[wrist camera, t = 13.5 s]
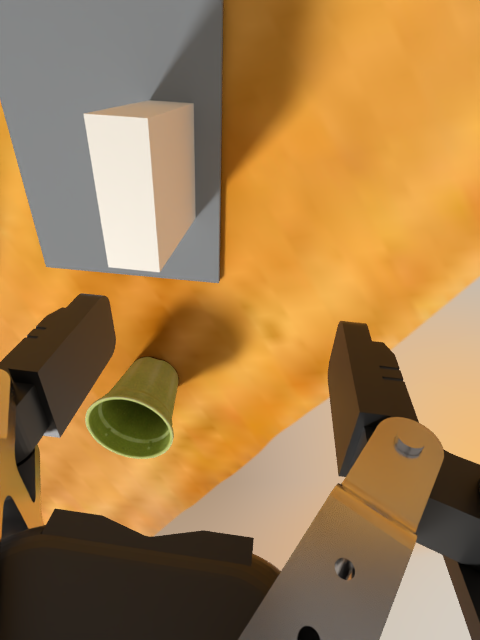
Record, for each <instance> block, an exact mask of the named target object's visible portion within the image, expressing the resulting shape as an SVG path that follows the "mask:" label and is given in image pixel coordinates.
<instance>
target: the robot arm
mask: <svg viewBox="0 0 480 640" xmlns="http://www.w3.org/2000/svg"><path fill="white" fill-rule="evenodd" d="M115 343H116V337H115V331H114V325H113V319H112V313H111V308H110V302H109V299H108V298H107V297H106V296H101V295H92V294H79V295H78V296H77V297H76V298H75V299H74V300H73V301H72V302H71V303H70V304H69V305H68V306H67V307H66V308H63V307H62V308H60V309H59V310H57V311H55V312H53V313H51V314H49V315H48V316H46V317H45V318H44V319H43V320H42V321H41V322H40V323H39V324H38V325H37V326H36V329H33V330H32V331H31V332H30V333H29V334H28V335H27V338H24V339H23V340H22V341H21V342H20V343H19V344H18V345H17V346H16V347H15V348H14V349H13V350H12V351H11V352H10V353H9V354H8V355H7V356H6V357H5V358H4V359H3V360H2V361H1V362H0V640H379V639H380V636H381V634H382V631H383V628H384V626H385V623H386V620H387V618H388V615H389V612H390V610H391V607H392V604H393V602H394V599H395V596H396V594H397V591H398V588H399V586H400V583H401V580H402V578H403V575H404V573H405V570H406V567H407V564H408V562H409V559H410V557H411V554H412V551H413V549H414V546H415V543H416V542H417V543H419V544H421V545H423V546H425V547H427V548H429V549H432V550H434V551H436V552H438V553H440V554H442V555H443V557H444V560H445V563H446V566H447V569H448V572H449V575H450V578H451V580H452V583H453V586H454V589H455V592H456V595H457V598H458V601H459V604H460V606H461V610H462V612H463V615H464V618H465V621H466V624H467V627H468V630H469V633H470V636H471V639H472V640H480V465H479V464H476V463H474V462H471V461H468V460H466V459H463V458H461V457H458V456H455V455H453V454H451V453H449V452H447V451H445V450H444V449H443V447H442V444H441V442H440V441H439V439H438V438H437V437H436V435H435V434H434V433H433V432H432V431H430V430H429V429H428V428H426V427H425V426H424V425H422V424H420V423H419V422H418V419H417V416H416V413H415V410H414V407H413V405H412V402H411V399H410V397H409V394H408V391H407V388H406V385H405V382H403V377H402V374H401V371H400V370H399V366H398V363H397V360H396V357H395V355H394V354H393V353H392V351H391V350H390V349H389V348H388V347H387V346H386V345H385V344H384V343H383V342H373V341H372V340H371V336H370V333H369V330H368V326H367V324H364V323H354V322H345V321H340V322H339V324H338V328H337V332H336V336H335V340H334V344H333V349H332V353H331V357H330V361H329V367H328V386H329V395H330V404H331V413H332V421H333V430H334V439H335V448H336V457H337V465H338V474H339V476H344V477H346V478H345V479H344V481H343V482H342V484H337V485H336V486H335V488H334V489H333V490H332V492H331V493H330V495H329V496H328V498H327V500H326V501H325V503H324V504H323V506H322V508H321V509H320V511H319V512H318V514H317V516H316V517H315V519H314V520H313V522H312V523H311V525H310V527H309V528H308V530H307V531H306V533H305V534H304V536H303V538H302V539H301V541H300V542H299V544H298V546H297V547H296V549H295V550H294V552H293V553H292V555H291V557H290V558H289V560H288V562H287V563H286V565H285V566H284V568H283V569H282V571H279V570H278V569H277V568H276V567H275V566H273V565H272V564H271V563H269V562H267V561H266V560H264V559H263V558H261V557H259V556H257V555H254V554H252V551H253V539H254V538H250V537H244V536H237V535H230V534H223V533H216V532H210V531H196V532H188V533H180V534H171V535H163V536H155V537H148V536H144V535H142V534H140V533H138V532H136V531H133V530H131V529H129V528H127V527H125V526H123V525H121V524H119V523H117V522H115V521H113V520H110V519H108V518H106V517H104V516H101V515H94V514H88V513H81V512H74V511H67V510H61V509H55V510H54V511H53V513H52V515H51V517H50V519H49V521H48V523H47V524H46V525H44V524H43V519H42V513H41V486H40V452H39V448H38V445H37V443H38V442H39V441H40V439H41V438H42V436H43V435H44V436H51V437H59V438H60V437H61V435H62V434H63V432H64V431H65V429H66V428H67V426H68V424H69V423H70V421H71V420H72V418H73V416H74V415H75V413H76V412H77V410H78V409H79V407H80V405H81V404H82V402H83V401H84V399H85V398H86V396H87V394H88V393H89V391H90V390H91V388H92V387H93V385H94V383H95V382H96V380H97V379H98V377H99V376H100V374H101V372H102V371H103V369H104V368H105V366H106V365H107V363H108V361H109V360H110V358H111V357H112V355H113V352H114V349H115Z"/></svg>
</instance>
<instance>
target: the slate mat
mask: <svg viewBox="0 0 480 640" xmlns="http://www.w3.org/2000/svg"><path fill="white" fill-rule="evenodd" d="M222 56H223V0H0V100H1V104H2V107H3V111H4V115H5V118H6V122H7V126H8V129H9V133H10V137H11V140H12V144H13V148H14V151H15V155H16V158H17V162H18V166H19V169H20V173H21V177H22V180H23V184H24V188H25V191H26V195H27V199H28V202H29V206H30V209H31V213H32V217H33V220H34V224H35V228H36V231H37V235H38V239H39V242H40V246H41V250H42V253H43V257H44V260H45V264H46V267H52V268H63V269H74V270H84V271H95V272H106V273H116V274H127V275H138V276H148V277H159V278H170V279H180V280H191V281H202V282H212V283H219V281H220V214H221V135H222ZM148 100H153V101H168V102H183V103H194V152H195V211H196V218H195V220H194V221H193V223H192V224H191V226H190V227H189V229H188V230H187V232H186V233H185V235H184V236H183V238H182V239H181V241H180V242H179V244H178V245H177V247H176V248H175V250H174V252H173V253H172V255H171V256H170V258H169V259H168V261H167V262H166V264H165V265H164V267H163V268H162V270H161V271H160V272H151V271H141V270H131V269H121V268H111V267H108V262H107V255H106V249H105V243H104V237H103V231H102V225H101V219H100V212H99V206H98V200H97V194H96V188H95V182H94V176H93V169H92V163H91V157H90V151H89V145H88V139H87V133H86V126H85V120H84V113H89V112H94V111H99V110H104V109H109V108H114V107H118V106H123V105H128V104H133V103H138V102H143V101H148Z"/></svg>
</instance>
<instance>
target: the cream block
mask: <svg viewBox="0 0 480 640" xmlns="http://www.w3.org/2000/svg"><path fill="white" fill-rule="evenodd" d="M84 120H85V126H86V133H87V139H88V145H89V151H90V157H91V163H92V169H93V176H94V182H95V188H96V194H97V200H98V206H99V212H100V219H101V225H102V231H103V237H104V243H105V249H106V255H107V262H108V267H111V268H121V269H131V270H141V271H151V272H160V271H161V270H162V268H163V267H164V265H165V264H166V262H167V261H168V259H169V258H170V256H171V255H172V253H173V252H174V250H175V248H176V247H177V245H178V244H179V242H180V241H181V239H182V238H183V236H184V235H185V233H186V232H187V230H188V229H189V227H190V226H191V224H192V223H193V221H194V220H195V218H196V211H195V152H194V103H183V102H168V101H153V100H148V101H143V102H138V103H133V104H128V105H123V106H118V107H114V108H109V109H104V110H99V111H94V112H89V113H84Z"/></svg>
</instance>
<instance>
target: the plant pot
mask: <svg viewBox="0 0 480 640" xmlns="http://www.w3.org/2000/svg"><path fill="white" fill-rule="evenodd" d="M177 387H178V375H177V373H176V371H175V369H174V368H173V367H172V366H171V365H170V364H169V363H167V362H165V361H163V360H157V359H154V358H152V357H144V358H140V359H138V360H136V361H135V362H134V363H133V364H132V365H131V366H130V368H129V369H128V370H127V371H126V372H125V374H124V375H123V376H122V377H121V379H120V380H119V381H118V382H117V383H116V385H115V386H114V387H113V388H112V389H111V390H110V392H109V393H107V394H106V395H105V396H103V397H102V398H100V399H98V400H97V401H95V402H94V403H93V404H92V405H91V406H90V407H89V409H88V411H87V413H86V418H85V421H86V426H87V428H88V430H89V432H90V434H91V435H92V437H93V438H94V439H95V440H96V441H97V442H98V443H99V444H101V445H102V446H103V447H105V448H106V449H108V450H110V451H112V452H114V453H116V454H119V455H122V456H125V457H129V458H136V459H148V458H154V457H157V456H159V455H162V454H163V453H165V452H166V451H167V450H168V449H169V448H170V446H171V445H172V442H173V437H174V433H173V428H172V414H173V409H174V403H175V398H176V393H177Z"/></svg>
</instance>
